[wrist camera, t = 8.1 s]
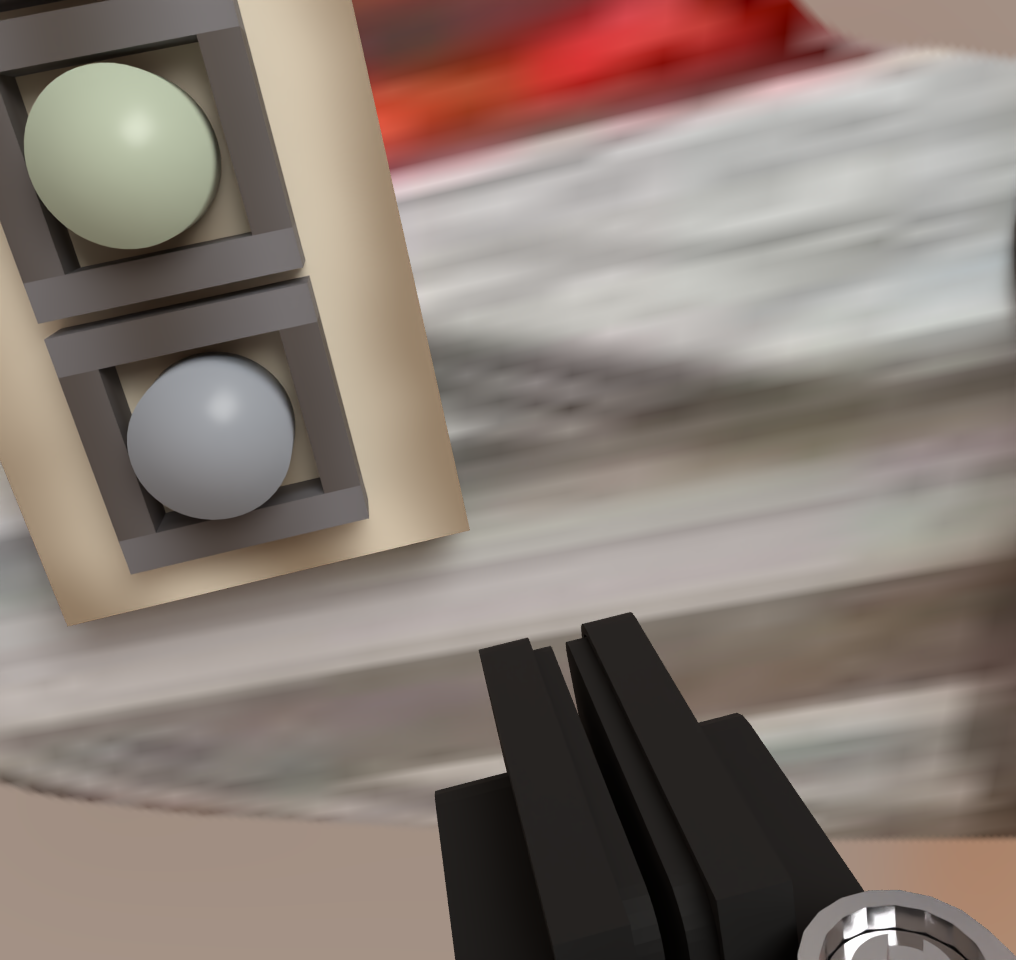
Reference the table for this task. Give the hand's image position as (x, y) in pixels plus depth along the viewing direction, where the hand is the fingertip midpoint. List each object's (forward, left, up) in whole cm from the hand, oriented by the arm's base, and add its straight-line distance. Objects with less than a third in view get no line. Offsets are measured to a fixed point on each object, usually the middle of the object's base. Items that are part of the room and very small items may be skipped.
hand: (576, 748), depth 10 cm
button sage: (+6, -7, -18) cm, 20 cm away
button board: (+6, -7, -21) cm, 23 cm away
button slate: (+6, 0, -18) cm, 19 cm away
